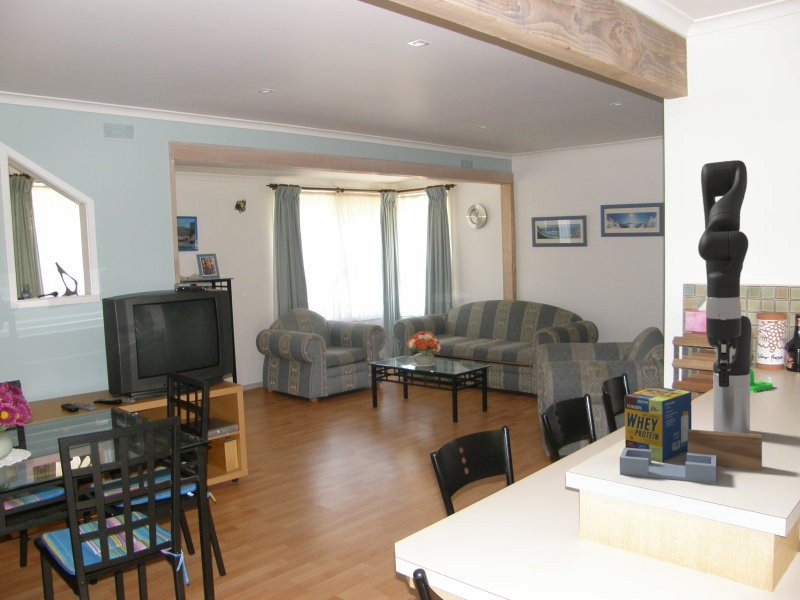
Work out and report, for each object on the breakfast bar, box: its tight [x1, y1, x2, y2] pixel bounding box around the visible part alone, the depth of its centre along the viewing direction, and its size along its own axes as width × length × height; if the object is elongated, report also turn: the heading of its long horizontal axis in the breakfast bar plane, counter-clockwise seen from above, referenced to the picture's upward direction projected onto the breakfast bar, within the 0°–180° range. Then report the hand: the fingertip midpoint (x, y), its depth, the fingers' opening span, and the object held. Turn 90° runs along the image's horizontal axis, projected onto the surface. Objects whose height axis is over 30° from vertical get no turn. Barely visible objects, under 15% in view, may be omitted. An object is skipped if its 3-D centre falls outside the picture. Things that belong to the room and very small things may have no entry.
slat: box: [687, 429, 763, 471], centre depth 163 cm, size 3×16×8 cm, turn 65°
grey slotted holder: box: [619, 447, 717, 484], centre depth 159 cm, size 8×21×4 cm, turn 65°
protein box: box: [624, 385, 692, 463], centre depth 175 cm, size 10×15×16 cm
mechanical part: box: [750, 368, 774, 393], centre depth 243 cm, size 12×6×8 cm, turn 116°
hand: (723, 383), depth 162 cm, fingers open, 8 cm apart
